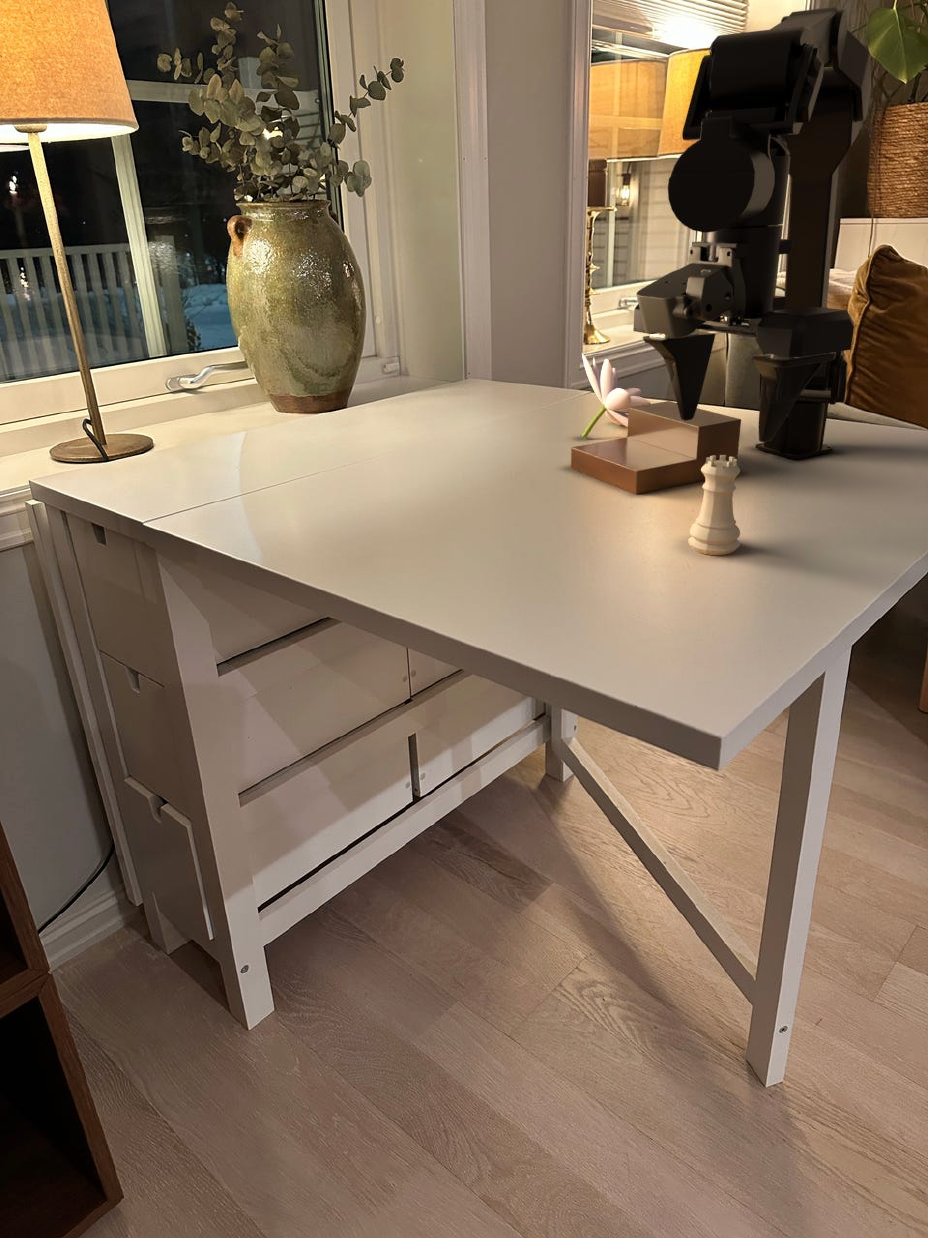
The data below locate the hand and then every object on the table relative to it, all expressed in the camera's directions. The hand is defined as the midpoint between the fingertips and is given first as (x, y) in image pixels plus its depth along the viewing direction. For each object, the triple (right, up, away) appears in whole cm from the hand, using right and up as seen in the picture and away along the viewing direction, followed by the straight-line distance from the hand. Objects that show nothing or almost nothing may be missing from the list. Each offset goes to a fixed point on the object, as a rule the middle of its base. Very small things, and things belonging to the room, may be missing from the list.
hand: (724, 429), depth 74 cm
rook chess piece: (0, -10, +5) cm, 11 cm away
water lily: (-1, +8, +42) cm, 42 cm away
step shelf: (0, +1, +27) cm, 27 cm away
